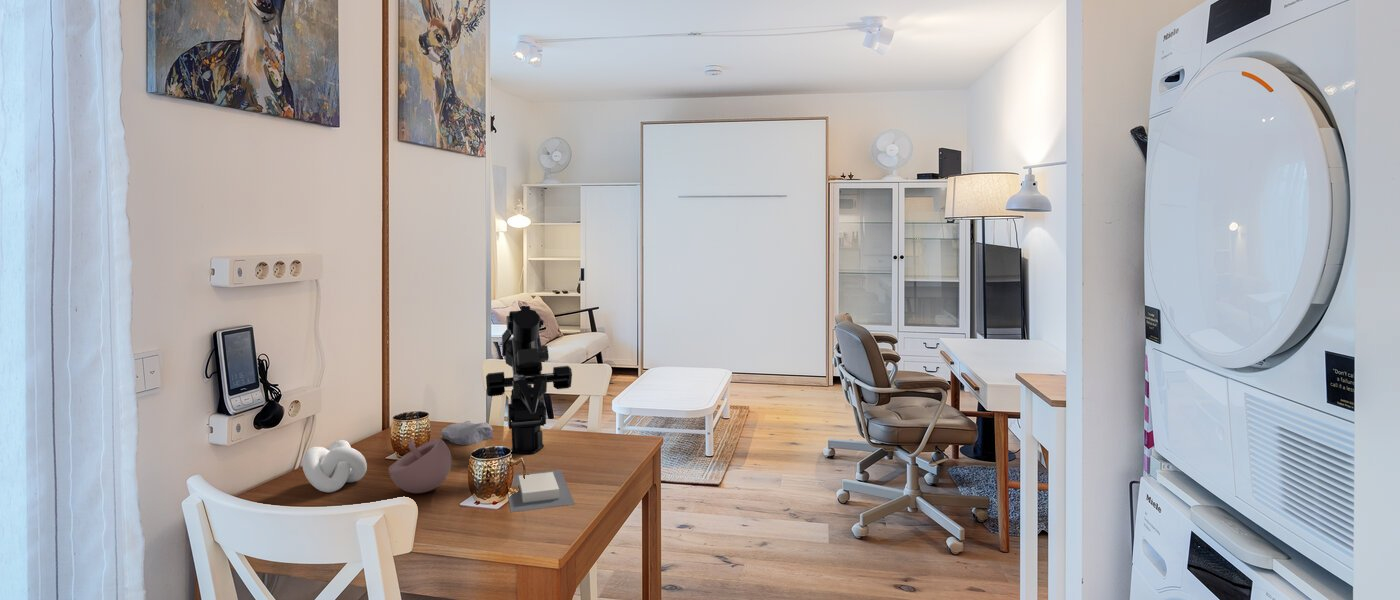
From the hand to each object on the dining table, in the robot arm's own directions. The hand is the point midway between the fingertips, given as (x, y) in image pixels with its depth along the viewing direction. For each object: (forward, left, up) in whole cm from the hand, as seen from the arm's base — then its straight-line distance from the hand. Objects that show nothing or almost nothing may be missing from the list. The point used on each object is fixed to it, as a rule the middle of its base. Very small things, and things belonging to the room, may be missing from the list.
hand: (533, 412), depth 153 cm
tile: (+4, -7, -12) cm, 14 cm away
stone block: (-31, +23, -14) cm, 41 cm away
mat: (+6, -10, -14) cm, 18 cm away
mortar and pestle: (-18, -15, -14) cm, 27 cm away
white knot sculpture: (-39, -15, -14) cm, 44 cm away
